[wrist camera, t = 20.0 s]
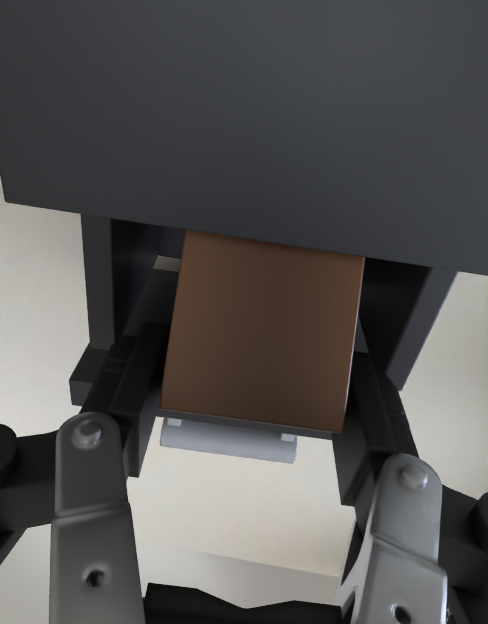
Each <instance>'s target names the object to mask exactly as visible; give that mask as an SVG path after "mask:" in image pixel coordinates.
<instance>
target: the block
mask: <svg viewBox="0 0 488 624" xmlns="http://www.w3.org/2000/svg"><path fill="white" fill-rule="evenodd" d="M364 262H365V257H362V256H355V255H348V254H342V253H335V252H329V251H322V250H316V249H309V248H302V247H296V246H289V245H283V244H276V243H270V242H263V241H256V240H250V239H243V238H237V237H230V236H224V235H217V234H210V233H204V232H197V231H191V230H185V237H184V243H183V250H182V256H181V263H180V270H179V276H178V283H177V289H176V296H175V303H174V309H173V316H172V322H171V329H170V335H169V342H168V349H167V355H166V362H165V368H164V375H163V382H162V388H161V395H160V401H159V408H160V409H162V410H169V411H177V412H184V413H192V414H199V415H207V416H214V417H221V418H229V419H236V420H244V421H251V422H259V423H266V424H273V425H281V426H288V427H296V428H303V429H311V430H318V431H325V432H333V433H342V432H343V429H344V421H345V413H346V405H347V397H348V389H349V381H350V373H351V365H352V357H353V349H354V342H355V334H356V326H357V318H358V310H359V302H360V294H361V286H362V278H363V270H364Z"/></svg>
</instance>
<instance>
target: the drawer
mask: <svg viewBox="0 0 488 624" xmlns="http://www.w3.org/2000/svg"><path fill="white" fill-rule="evenodd" d="M81 226H82V240H83V254H84V268H85V281H86V295H87V309H88V323H89V337H90V342H89V344H88V346H87V348H86V349H85V351H84V353H83V355H82V357H81V359H80V361H79V362H78V364H77V366H76V368H75V370H74V372H73V373H72V375H71V377H70V379H69V385H70V393H71V402H72V405H76V406H83V404H84V402H85V400H86V398H87V396H88V394H89V392H90V389H91V387H92V385H93V383H94V381H95V379H96V377H97V375H98V372H100V368H101V366H102V364H103V362H104V361H105V358H106V355H107V353H108V351H109V349H110V347H111V345H112V344H114V343H115V342H116V341H117V340H118V339H120V338H121V337H122V336H123V335H127V336H134V337H138V335H139V333H140V330H141V328H142V325H143V323H144V321H152V322H159V323H166V324H170V329H171V322H172V316H173V309H174V303H175V296H176V289H177V283H178V276H179V272H173V271H166V270H159V269H153V266H154V264H155V262H156V259H157V257H158V255H160V256H167V257H174V258H180V259H181V256H182V250H183V243H184V237H185V230H184V229H178V228H171V227H164V226H158V225H151V224H145V223H138V222H132V221H125V220H119V219H112V218H105V217H99V216H92V215H86V214H81ZM458 272H459V271H453V270H447V269H440V268H434V267H427V266H421V265H414V264H408V263H401V262H394V261H388V260H381V259H375V258H368V257H365V262H364V270H363V278H362V286H361V294H360V302H359V310H358V318H357V326H356V334H355V342H354V349H353V351H357V352H364V353H369V354H370V355H371V358H372V362H373V365H374V369H375V371H376V372H383V373H386V375H387V376H388V377H389V378H390V380H391V381H392V382H393V383H394V384H395V386H396V388H397V391H401V390H402V389H403V387H404V385H405V382H406V380H407V378H408V376H409V374H410V372H411V370H412V368H413V366H414V364H415V362H416V360H417V357H418V355H419V353H420V351H421V349H422V347H423V345H424V343H425V341H426V339H427V337H428V335H429V332H430V330H431V328H432V326H433V324H434V322H435V320H436V318H437V316H438V314H439V312H440V310H441V307H442V305H443V303H444V301H445V299H446V297H447V295H448V293H449V291H450V289H451V287H452V285H453V282H454V280H455V278H456V276H457V274H458ZM398 394H399V392H398ZM399 397H400V395H399ZM400 400H401V398H400ZM400 403H402V401H400ZM402 406H403V405H402ZM403 409H404V408H403ZM404 415H406V414H405V411H404ZM156 416H158V417H164V421H163V425H162V430H161V437H160V446H163V447H170V448H178V449H185V450H193V451H201V452H208V453H216V454H223V455H231V456H238V457H246V458H253V459H261V460H268V461H276V462H283V463H291V464H292V463H294V461H295V457H296V452H297V435H298V436H305V437H313V438H320V439H327V440H332V435H331V432H325V431H318V430H311V429H303V428H296V427H288V426H281V425H273V424H266V423H259V422H251V421H244V420H236V419H229V418H221V417H214V416H207V415H199V414H192V413H184V412H177V411H169V410H162V409H160V408H159V407H158V410H157V414H156ZM406 419H407V417H406ZM407 422H408V420H407ZM408 425H409V423H408ZM409 427H410V426H409Z"/></svg>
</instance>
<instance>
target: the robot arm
mask: <svg viewBox="0 0 488 624" xmlns="http://www.w3.org/2000/svg"><path fill="white" fill-rule="evenodd" d="M169 335H170V324H166V323H159V322H152V321H144V323H143V325H142V328H141V330H140V333H139V335H138V337H134V336H127V335H123V336H122V337H121V338H120V339H118V340H117V341H116V342H115V343H114V344H112V345H111V347H110V349H109V351H108V353H107V355H106V358H105V361H104V362H103V364H102V366H101V368H100V372H98V375H97V377H96V379H95V381H94V383H93V385H92V387H91V389H90V392H89V394H88V396H87V398H86V400H85V402H84V404H83V406H82V408H81V411H80V412H79V414H78V415H75V416H73V417H71V418H70V419H68V420H67V421H66V422H65V423H63V425H62V426H61V427H60V429H59V430H56V431H53V432H50V433H45V434H39V435H31V436H24V437H17V436H16V434H15V432H14V431H13V430H12V429H11V428H9V427H8V426H6V425H3V424H0V565H1V564H2V562H3V561H4V559H5V558H6V557H7V555H8V554H9V553H10V551H11V550H12V548H13V547H14V546H15V544H16V543H17V541H18V540H19V539H20V537H21V536H22V534H23V533H24V532H25V530H26V529H27V528H30V527H35V526H40V525H45V524H50V523H52V524H51V548H50V550H51V551H50V595H49V624H445V623H446V602H447V604H448V606H449V608H450V610H451V613H452V615H453V617H454V619H455V621H456V623H457V624H488V492H487V493H485V494H484V495H482V496H481V498H480V499H479V500H477V499H474V498H472V497H469V496H467V495H465V494H462V493H460V492H457V491H455V490H453V489H450V488H448V487H446V486H445V485H443V484H441V481H440V479H439V477H438V475H437V473H436V472H435V471H434V470H433V469H432V468H431V467H430V466H429V465H428V464H427V463H426V462H424V461H423V460H421V459H420V458H419V455H418V452H417V449H416V446H415V443H414V440H413V437H412V434H411V431H410V428H409V425H408V422H407V419H406V415H404V409H403V406H402V403H400V401H401V400H400V397H399V394H398V391H397V388H396V386H395V384H394V383H393V382H392V381H391V380H390V378H389V377H388V376H387V375H386V373H383V372H376V371H375V369H374V365H373V362H372V358H371V355H370V354H369V353H364V352H357V351H353V357H352V365H351V373H350V381H349V389H348V397H347V405H346V413H345V421H344V429H343V432H342V433H333V432H331V435H332V442H333V450H334V457H335V464H336V471H337V478H338V486H339V493H340V500H341V505H346V506H354V507H355V513H356V519H355V521H354V523H353V525H352V528H351V532H350V536H349V540H348V544H347V548H346V552H345V556H344V560H343V564H342V568H341V572H340V576H339V580H338V584H337V588H336V592H335V595H334V598H333V601H332V603H331V605H327V604H320V603H311V602H303V601H295V600H294V601H288V602H283V603H277V604H272V605H266V606H260V607H255V608H249V609H246V608H241V607H238V606H236V605H234V604H231V603H229V602H226V601H224V600H222V599H220V598H217V597H215V596H213V595H210V594H208V593H205V592H203V591H201V590H199V589H196V588H188V587H180V586H172V585H163V584H155V583H148V586H147V591H146V595H145V597H143V598H142V592H141V585H140V576H139V568H138V560H137V553H136V545H135V536H134V528H133V520H132V513H131V507H130V503H129V502H128V495H127V487H126V481H127V478H128V476H130V477H137V478H139V474H140V471H141V467H142V464H143V460H144V456H145V453H146V449H147V446H148V442H149V439H150V435H151V432H152V428H153V424H154V421H155V417H156V414H157V410H158V407H159V401H160V395H161V388H162V382H163V375H164V368H165V362H166V355H167V349H168V342H169Z"/></svg>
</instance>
